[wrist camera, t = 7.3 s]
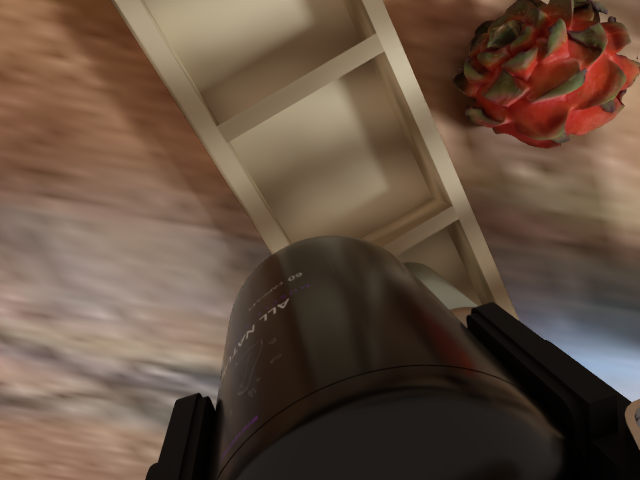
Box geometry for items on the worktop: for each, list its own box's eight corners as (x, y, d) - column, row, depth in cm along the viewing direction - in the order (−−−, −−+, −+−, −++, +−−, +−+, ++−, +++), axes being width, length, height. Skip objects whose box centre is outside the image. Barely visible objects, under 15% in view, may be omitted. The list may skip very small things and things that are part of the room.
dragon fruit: (413, 59, 29) (547, 82, 32) (438, 167, 26) (581, 178, 30) (498, -63, 21) (658, -15, 25) (545, 71, 18) (718, 102, 22)
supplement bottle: (222, 233, 13) (15, 905, 2) (424, 227, 14) (1100, 645, 3) (232, 414, 15) (159, 1310, 4) (410, 398, 16) (786, 1066, 5)
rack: (499, 311, 34) (533, 336, 30) (362, 392, 34) (377, 428, 30) (291, -160, 23) (300, -220, 19) (87, -42, 23) (52, -77, 19)
